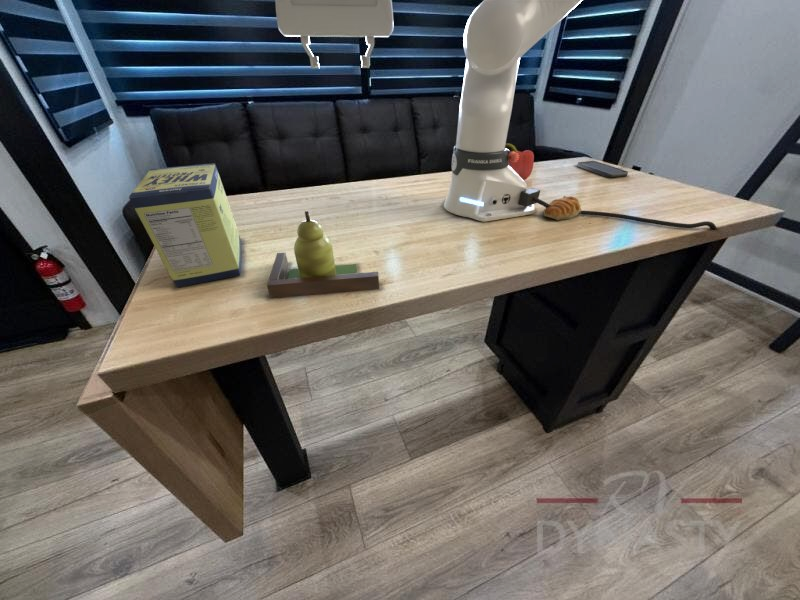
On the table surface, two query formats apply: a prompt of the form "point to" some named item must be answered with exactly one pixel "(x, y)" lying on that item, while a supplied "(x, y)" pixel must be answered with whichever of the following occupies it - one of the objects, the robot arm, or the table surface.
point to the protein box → (189, 223)
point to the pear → (313, 250)
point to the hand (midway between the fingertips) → (340, 68)
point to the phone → (602, 169)
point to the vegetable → (522, 162)
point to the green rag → (339, 269)
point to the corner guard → (316, 282)
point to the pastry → (563, 208)
